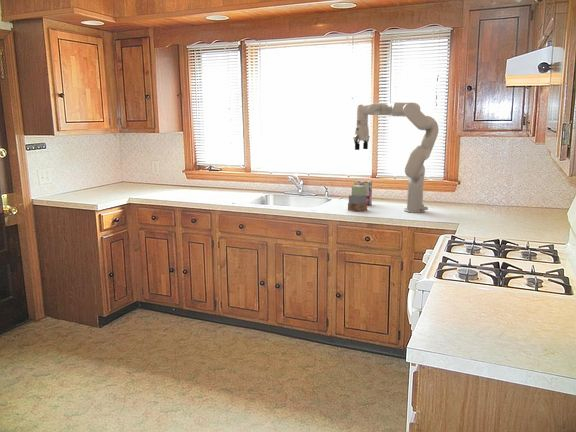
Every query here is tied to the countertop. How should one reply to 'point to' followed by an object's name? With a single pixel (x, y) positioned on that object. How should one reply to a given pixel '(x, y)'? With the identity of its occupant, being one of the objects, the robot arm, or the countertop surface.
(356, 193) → the green cube
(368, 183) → the candy bar box
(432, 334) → the countertop surface
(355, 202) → the upper block
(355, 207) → the lower block
